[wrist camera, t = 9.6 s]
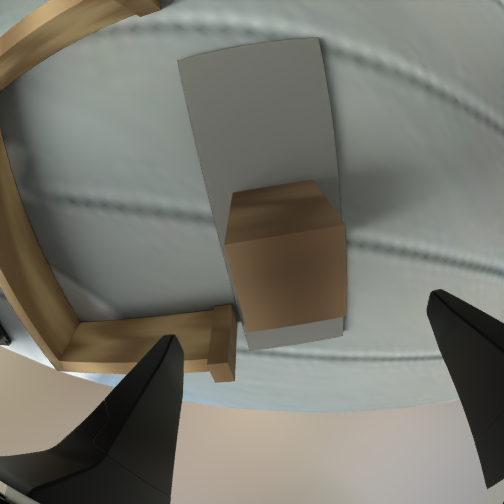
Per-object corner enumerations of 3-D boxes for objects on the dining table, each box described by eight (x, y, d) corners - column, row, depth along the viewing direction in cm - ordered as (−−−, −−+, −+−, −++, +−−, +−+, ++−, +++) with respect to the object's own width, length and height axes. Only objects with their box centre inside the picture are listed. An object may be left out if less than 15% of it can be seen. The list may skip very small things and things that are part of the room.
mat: (249, 347, 22) (249, 350, 22) (179, 61, 13) (177, 60, 12) (341, 332, 22) (342, 335, 21) (316, 39, 12) (318, 37, 12)
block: (247, 261, 18) (247, 332, 13) (232, 192, 16) (223, 244, 11) (319, 250, 18) (346, 316, 12) (313, 179, 15) (345, 224, 10)
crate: (78, 335, 22) (56, 379, 18) (-17, 86, 11) (-67, 96, 7) (237, 323, 21) (234, 381, 16) (156, -15, 10) (122, -51, 5)
